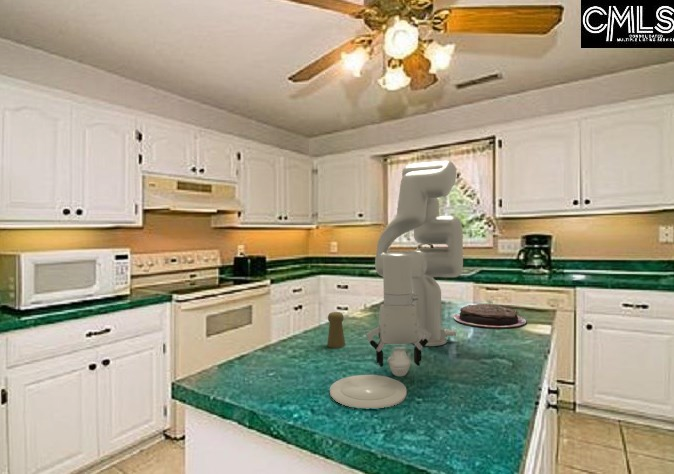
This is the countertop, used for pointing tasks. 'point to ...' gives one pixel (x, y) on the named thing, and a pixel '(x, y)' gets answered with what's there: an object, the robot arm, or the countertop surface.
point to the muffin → (399, 362)
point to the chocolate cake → (489, 317)
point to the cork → (335, 330)
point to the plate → (368, 391)
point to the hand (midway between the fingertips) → (398, 364)
